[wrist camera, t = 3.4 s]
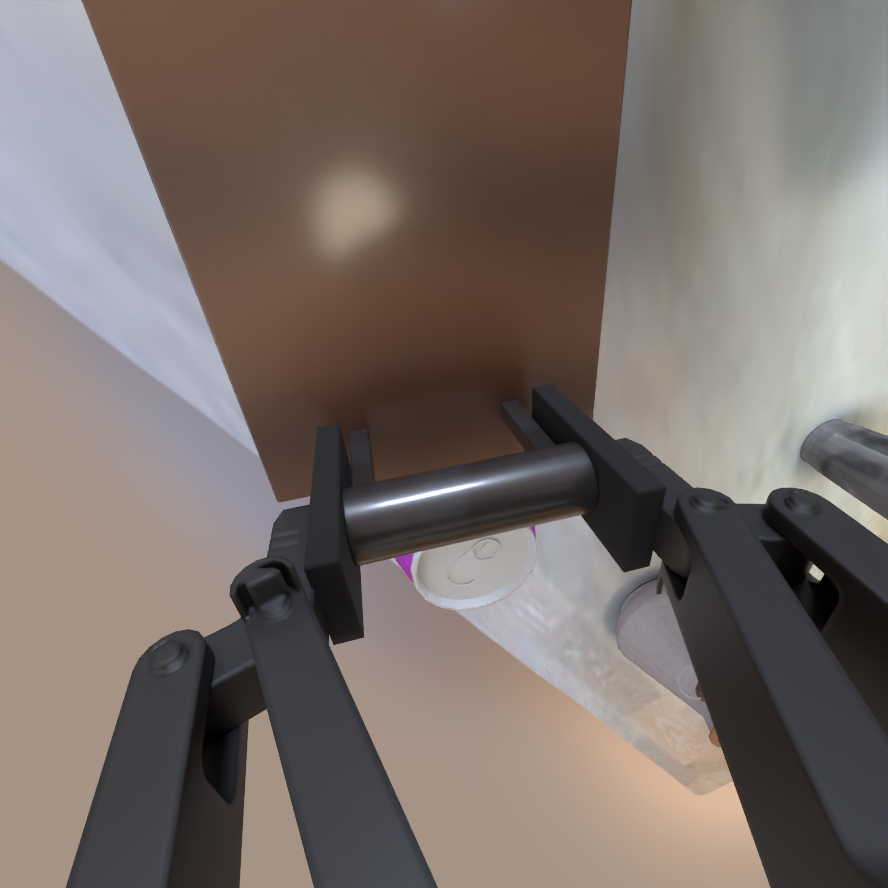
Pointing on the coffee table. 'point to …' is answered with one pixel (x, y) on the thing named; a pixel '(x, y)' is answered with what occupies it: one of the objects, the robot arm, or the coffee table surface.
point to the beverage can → (473, 569)
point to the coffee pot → (660, 647)
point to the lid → (391, 235)
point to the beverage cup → (851, 461)
